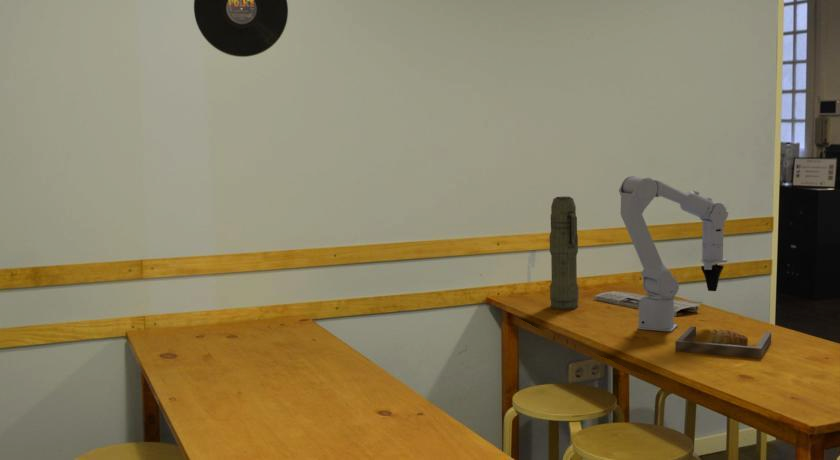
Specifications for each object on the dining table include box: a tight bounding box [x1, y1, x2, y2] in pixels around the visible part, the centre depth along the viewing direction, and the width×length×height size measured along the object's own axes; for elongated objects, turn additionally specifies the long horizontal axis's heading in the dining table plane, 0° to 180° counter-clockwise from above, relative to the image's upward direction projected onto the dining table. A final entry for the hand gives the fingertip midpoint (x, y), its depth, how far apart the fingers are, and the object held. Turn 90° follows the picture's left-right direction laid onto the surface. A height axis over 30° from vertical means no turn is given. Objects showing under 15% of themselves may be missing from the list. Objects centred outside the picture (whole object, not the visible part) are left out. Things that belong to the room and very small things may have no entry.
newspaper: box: [593, 290, 704, 317], centre depth 307 cm, size 35×12×4 cm, turn 35°
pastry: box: [709, 329, 749, 346], centre depth 255 cm, size 9×7×4 cm
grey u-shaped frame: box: [674, 325, 772, 359], centre depth 253 cm, size 21×18×2 cm
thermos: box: [549, 196, 580, 311], centre depth 306 cm, size 9×12×35 cm
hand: (712, 290), depth 279 cm, fingers closed
